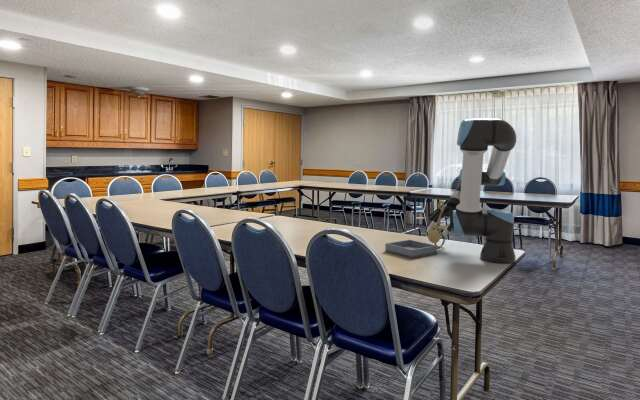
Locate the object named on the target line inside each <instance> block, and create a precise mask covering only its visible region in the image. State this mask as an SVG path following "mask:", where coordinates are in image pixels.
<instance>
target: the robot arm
mask: <svg viewBox="0 0 640 400" xmlns="http://www.w3.org/2000/svg"><path fill="white" fill-rule="evenodd" d="M516 143H517V134H516V131H515V129H514V127H513V126H512V125H511V124H510V123H509V122H508V121H506V120H504V119H503V118H502V119H501V118H467V119H466V118H465V119H463V120H461V122H460V124H459V128H458V133H457V140H456V145H457V146H458V147H459V150H460V152H461V153H462V165H461V166H462V167H461V169H460V171H459V175H458V181H457V185H456V188H455V189H454V191H453V193H452V194H451V196H450V197H449V198H448V200H447V201H446V204H445V205H444V210H443V213H442V216H441V218H440V220H441V219H443V218H444V217H447V216H449V223H448V224H446V225H445V226H446V228H445V230H444V231H443V232H441V233H442V234H443V235H442V237H443V238H444V237H446V238H447V235H448V233H450V232H451V231H452V229H453V230H454V231H453V232H454V233H455V235H458V236H464V237H465V236H469V237H472V236H473V237H485V238H484V241H485V242H484V244H483V246H482V248H481V252H480V253H479V254H480V256H479V258H480V259H481V260H483V261H486V262H491V263H494V264H495V263H497V264H511V263H512V264H513V263H515V262H516V257H517V256H516V253H515V250H514V246H513V239H514V238H513V237H514V236H513V235H514V224H515V220H514V219H515V218H514V216H515V215H514V214H513V212H510V211H507V210H503V209H498V208H490V207H489V208H487V209H486V211H484V210H483V207H482V206H481V205H480V204H481V203H480V202H481V199H480V198H481V191H482V190H481V189H482V186H495V187H497V186H504V185H505V183H506V172H505V171H504V170H505V167H506V165H507V161H508V159H509V156H510V153H511V151H512V150H513V149H514V148H515V146H516ZM489 146H491V147H492V150H491V154H490V158H489V161H488V165H487V167H486V170H483V164H484V154H485V153H486V152H487V151H488V150H489V149H488V148H489ZM441 211H442V206H441V208H438V207H437V210H436V211H435V212H434V213H433V214H432V215H431V216H430V217H429V221H430V223H429V224H428V227H427V228H426V232H427V234H428V233H429V232H430V231H431V230H434V229H435V228H434V227H433V226H436V224H437V221H438V218H439V216H440V213H441Z"/></svg>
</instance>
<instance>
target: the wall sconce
mask: <svg viewBox="0 0 640 400" xmlns="http://www.w3.org/2000/svg"><path fill="white" fill-rule="evenodd" d="M441 207H442V211H441V213H440V216H439V218H438V221H437V222H436V223H435V224H436V225H435V226H433V227H434V228H433V229H432V230H431V231H430V232H429V233H428V232H427V239H428V241H429V242H430V243H431V244H433V245H436V246H437V249H440V248H442V247H443V245H444V244H445V243H446V238H447V236H446V237H444V236H443V234H442V233H443V231H444V230H445V228H446V226H447V225H439V224H440V221H441V219H442V218H441V216H442V213H443V210H444V207H445V203H444V201H443V200H439V201H438V203H437V209H438V208H441ZM440 218H441V219H440ZM438 230H439V231H438ZM442 237H443V239H442ZM441 239H442V243H441V244H440V245H438V244H437V243H438V242H439V241H440V240H441Z"/></svg>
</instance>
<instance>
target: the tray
mask: <svg viewBox="0 0 640 400" xmlns="http://www.w3.org/2000/svg"><path fill="white" fill-rule="evenodd" d="M437 246H438V245H437ZM437 246H436V245H435V244H433V243H427V242H422V241H417V240H412V239H404V240H400V241H399V240H398V241H393V242H386V243H385V248H384V249H385V252H386V253H390V254H394V255H398V256H401V257H406V258H409V259H416V258H423V257H426V256H432V255H436V254H437V251H438V248H437Z"/></svg>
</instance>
